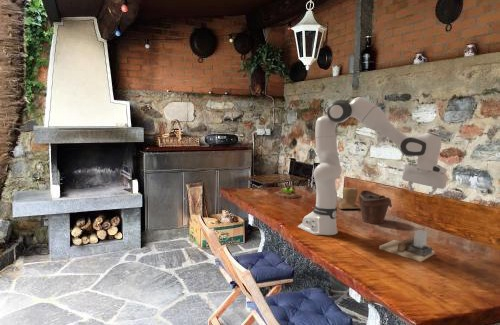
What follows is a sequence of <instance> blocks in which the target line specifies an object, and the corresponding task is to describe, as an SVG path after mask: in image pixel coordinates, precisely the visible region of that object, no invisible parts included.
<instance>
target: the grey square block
mask: <svg viewBox="0 0 500 325" xmlns="http://www.w3.org/2000/svg"><path fill="white" fill-rule="evenodd" d="M413 237H414V246H413V247H414V248H417V249H421V250H425V249H426V246H427V239H428V231H425V230H421V229H417V230H415V231H414V235H413Z"/></svg>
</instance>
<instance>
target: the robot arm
mask: <svg viewBox="0 0 500 325" xmlns="http://www.w3.org/2000/svg"><path fill="white" fill-rule="evenodd" d="M351 118H354V119H356V120H357V121H358V122H359V123H361V124H362V125H364V126H365V127H367V128H369V129H370V130H372V131H375V132H377V133H380V134H382V135H384V136H385V137H387V138H388V139H389V140H390V141H392V143H394V144H395V145H396V146H397V147H398V149H399V152H400V153H401V154H402V155H403V156H405V157H408V158H411V157H417V162H416V163H411V162H408V163H406V164H405V165H404V167H403V169H404V170H403V173H402V175H401V179H402V181H405V182H407V185H408V187H409V189H408V191H409V192H414V189H415V188H414V187H413V184H419V185H422V186H427V187H432V188H431V191H428V196H429V197H433V196H434V193H435V192H436V191H437V189H440V190H443V189H445V188H446V187H447V183H448V182H447V181H448V180H447V179H448V177H447V176H448V175H447V174H446V173H447V171H448V169H447V168H445V167H444V166H441V165H440V164H438V163H439V160H438V158H439V155H440V152H441V150H442V149H441V148H442V138H441V137H440V136H439V135H438V134H436V133H433V132H424V133H422V134H419V135H415V136H407V135H405V134H404V133H403V132H401V131H400V130H399V129H398V128H396V127H395V126H394V125H393V124H392V123H391V122H390V120H389V118H388V117H387V115H386V113H385V112H384V111H383V110H382V109H380V107H378V106H377V105H375V103H374V102H372V101H369V100H368V99H367V98H364V97H362V96H357V97H355V98H353V99H352V100H351V101H350V102H348V101H347V102H345V101H334V102H331V104H329V106H328V107H327V109H326V115H322V116H320V117H318V118H317V119H316V121H315V129H314V130H315V131H314V136H315V137H314V138H315V139H314V140H315V149H316V150H315V151H316V153H317V156H318V159H319V164H317V166H316V167H315V168H314V170H313V174H312V175H313V178H314V180H315V181H314V182H315V190H316V198H315V205H313V206H311V208H312V211H311V212H310V213H308V214H306V215H305V216H304V217H303V219H302V222H301V223H300V224H298V226H297V228H299V229H300V230H303V231H305V232H307V233H310V234H312V235H314V236H315V235H316V236H317V235H321V236H322V235H323V236H333V235H334V236H335V235H336V234H337V235H338V233H339V231H338V226H337V213H338V206H337V202H338V201H337V200H338V192H337V187H336V180H337V179H339V177H340V176H341V175H342V166H341V163H340V161H341V160H340V158H339V153H338V146H337V145H338V144H337V133H336V131H337V126H338V125H340V124H343V123H345V122H347V121H348V120H350V119H351Z"/></svg>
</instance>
